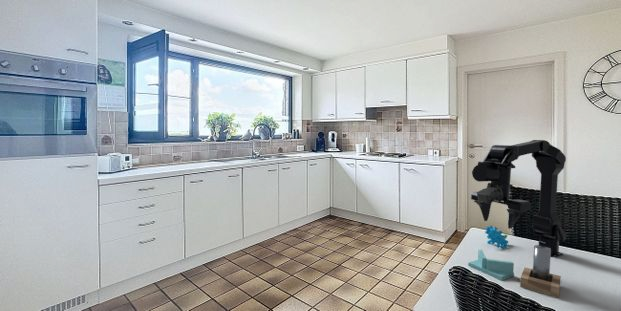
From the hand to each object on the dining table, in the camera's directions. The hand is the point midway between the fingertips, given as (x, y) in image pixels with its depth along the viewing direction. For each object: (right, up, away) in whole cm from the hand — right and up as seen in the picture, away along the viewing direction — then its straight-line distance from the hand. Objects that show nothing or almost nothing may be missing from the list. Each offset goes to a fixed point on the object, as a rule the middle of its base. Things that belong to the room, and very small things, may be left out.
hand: (497, 224), depth 104 cm
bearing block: (+4, -16, -14) cm, 21 cm away
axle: (+4, -16, -14) cm, 21 cm away
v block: (-5, -15, -4) cm, 16 cm away
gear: (+11, -13, +18) cm, 25 cm away
